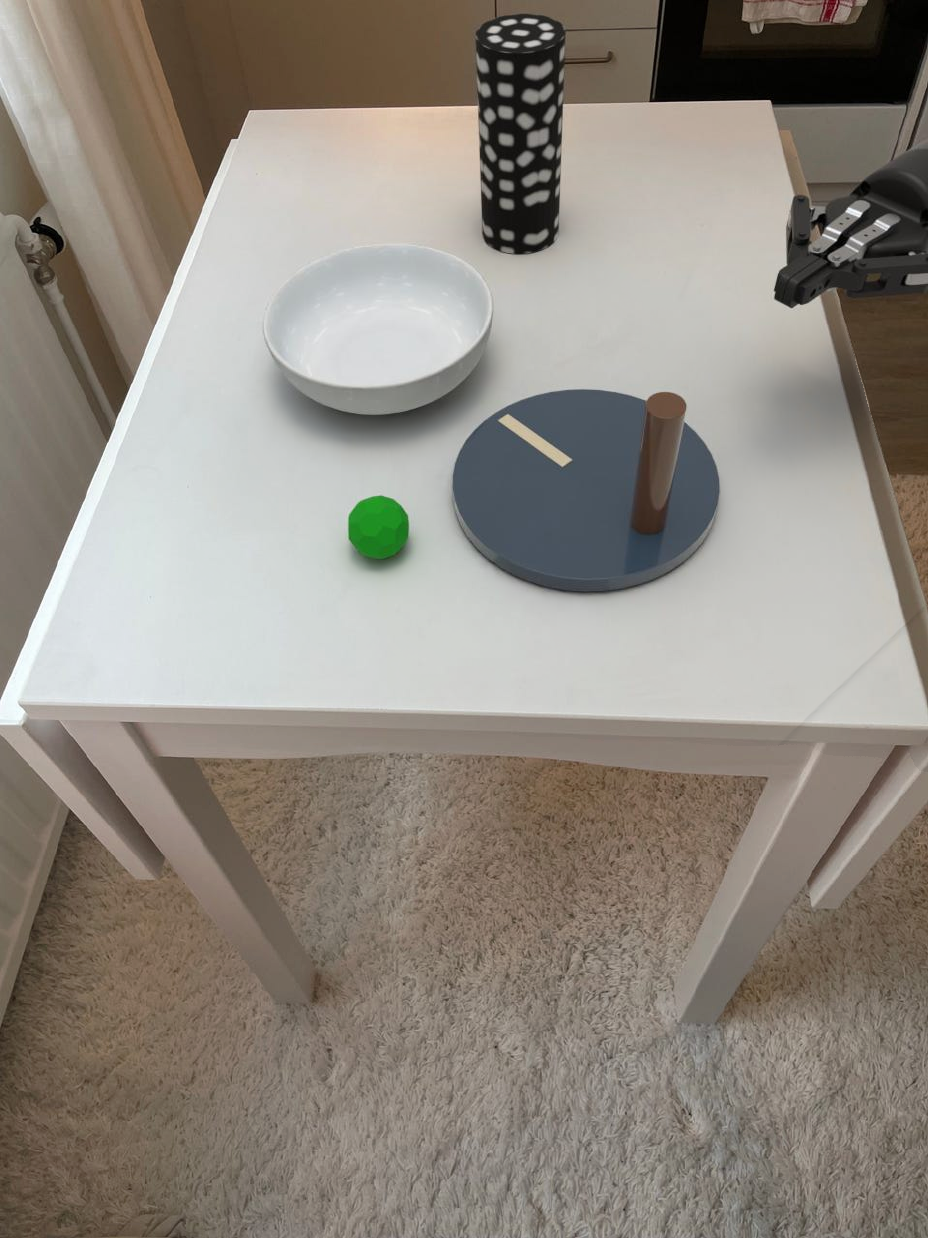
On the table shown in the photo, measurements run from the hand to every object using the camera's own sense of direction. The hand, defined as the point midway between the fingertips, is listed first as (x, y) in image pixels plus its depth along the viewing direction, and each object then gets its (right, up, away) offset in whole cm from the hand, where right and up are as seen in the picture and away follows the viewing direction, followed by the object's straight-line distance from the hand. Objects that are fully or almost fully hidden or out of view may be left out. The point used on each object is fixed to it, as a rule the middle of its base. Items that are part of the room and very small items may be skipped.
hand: (784, 293), depth 68 cm
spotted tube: (-17, +19, +36) cm, 44 cm away
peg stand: (-13, -13, +12) cm, 22 cm away
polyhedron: (-30, -18, +10) cm, 36 cm away
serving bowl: (-30, 0, +23) cm, 38 cm away
